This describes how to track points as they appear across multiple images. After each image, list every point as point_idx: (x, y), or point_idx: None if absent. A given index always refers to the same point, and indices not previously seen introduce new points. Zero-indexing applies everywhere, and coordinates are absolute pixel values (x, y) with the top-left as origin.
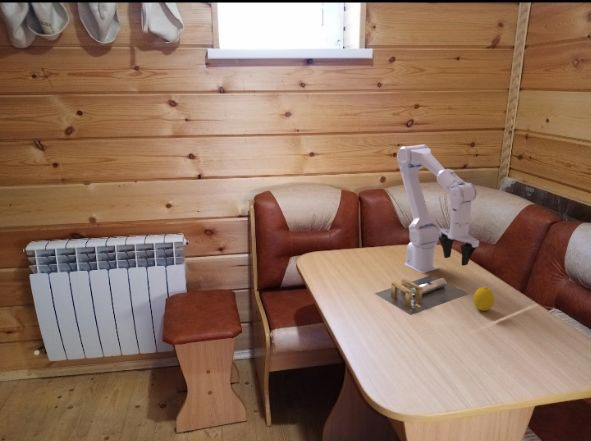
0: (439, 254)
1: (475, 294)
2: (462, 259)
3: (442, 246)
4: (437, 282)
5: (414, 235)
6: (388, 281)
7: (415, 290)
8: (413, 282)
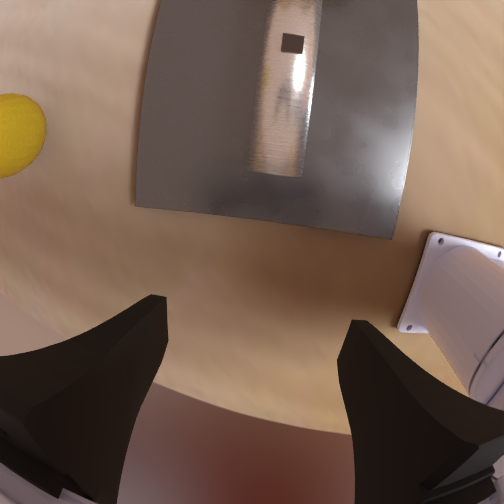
0: None
1: (1, 100)
2: (130, 318)
3: (431, 380)
4: (268, 99)
5: None
6: (472, 57)
7: None
8: (404, 95)
